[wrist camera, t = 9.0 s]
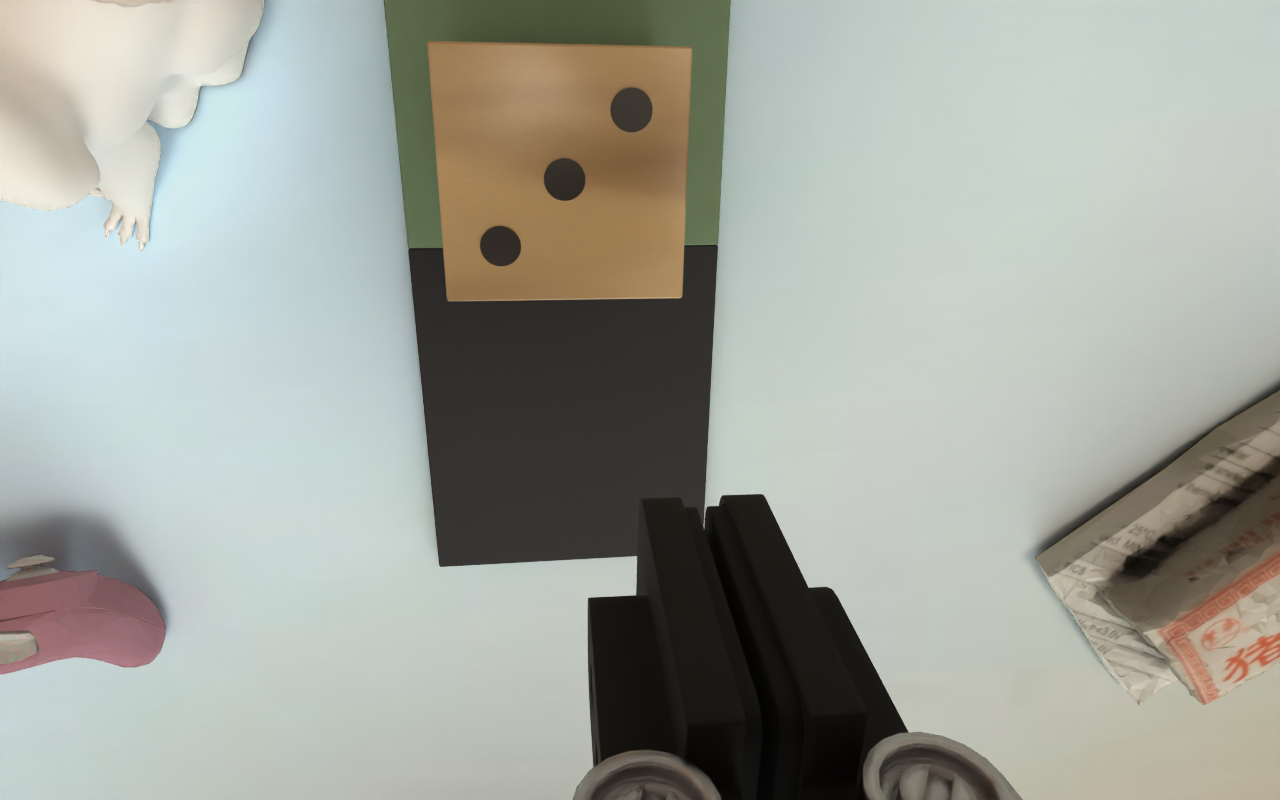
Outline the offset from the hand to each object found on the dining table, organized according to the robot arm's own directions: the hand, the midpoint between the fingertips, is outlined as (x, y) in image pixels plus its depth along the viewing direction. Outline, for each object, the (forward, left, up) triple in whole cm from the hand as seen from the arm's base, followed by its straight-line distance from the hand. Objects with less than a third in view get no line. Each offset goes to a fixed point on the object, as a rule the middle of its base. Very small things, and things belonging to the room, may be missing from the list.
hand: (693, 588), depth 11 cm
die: (-1, -1, -14) cm, 14 cm away
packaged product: (+10, +28, -18) cm, 35 cm away
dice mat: (+1, -1, -18) cm, 18 cm away
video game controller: (+11, -21, -18) cm, 30 cm away
